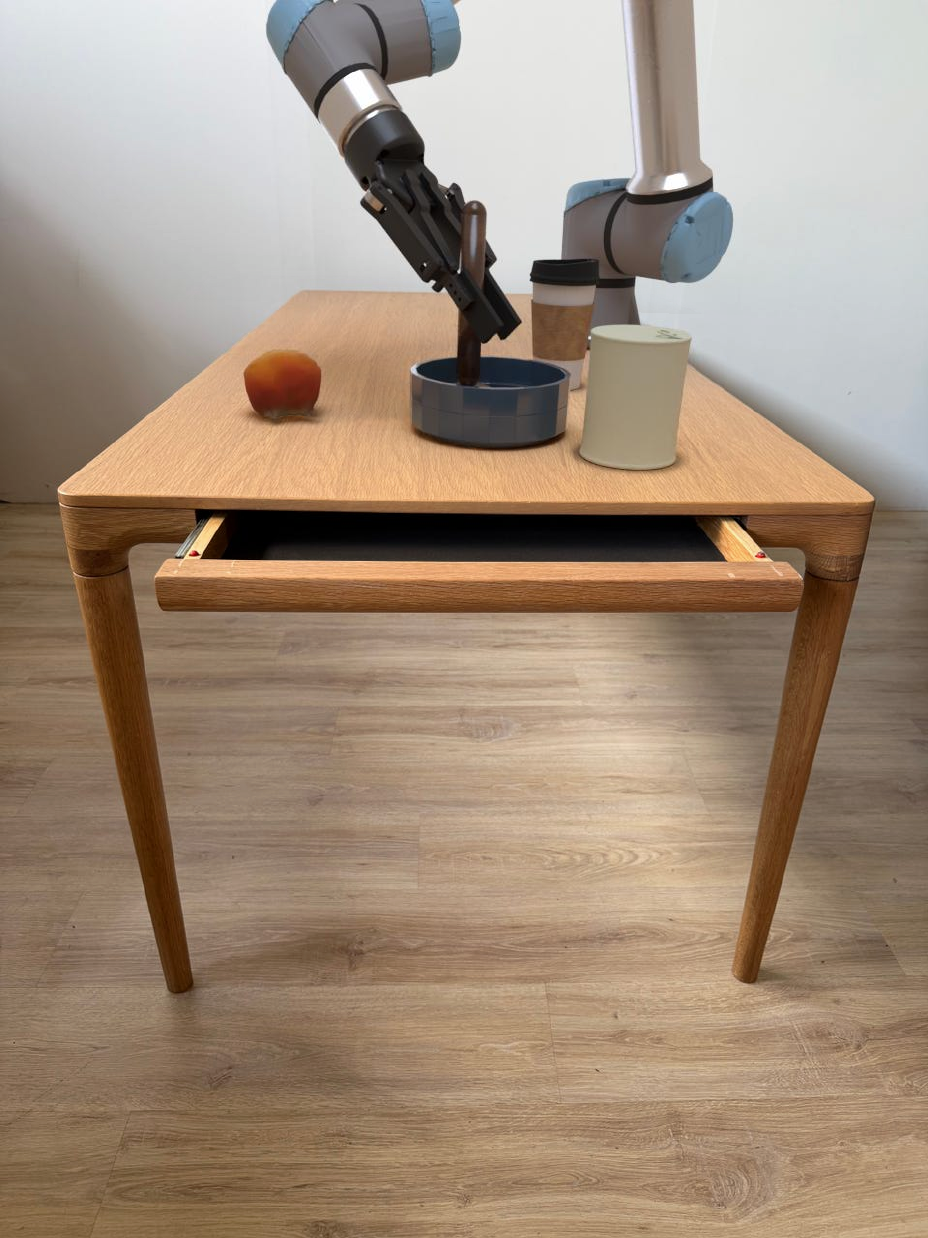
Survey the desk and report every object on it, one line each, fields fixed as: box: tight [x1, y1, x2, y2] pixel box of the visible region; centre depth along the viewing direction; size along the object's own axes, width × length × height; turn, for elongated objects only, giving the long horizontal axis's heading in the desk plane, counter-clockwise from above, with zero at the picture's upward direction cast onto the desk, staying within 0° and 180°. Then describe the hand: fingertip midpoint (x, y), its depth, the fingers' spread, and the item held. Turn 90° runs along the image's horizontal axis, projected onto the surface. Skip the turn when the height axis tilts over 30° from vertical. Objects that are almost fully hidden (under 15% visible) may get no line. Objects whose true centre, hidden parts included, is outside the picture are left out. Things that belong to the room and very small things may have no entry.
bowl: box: [409, 355, 571, 449], centre depth 95 cm, size 16×16×6 cm
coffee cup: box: [529, 258, 600, 391], centre depth 113 cm, size 8×8×15 cm
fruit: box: [243, 348, 322, 422], centre depth 97 cm, size 8×8×8 cm
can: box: [578, 324, 693, 471], centre depth 86 cm, size 9×9×12 cm
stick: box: [451, 199, 492, 388], centre depth 90 cm, size 5×5×19 cm
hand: (502, 332), depth 89 cm, fingers closed on stick, 2 cm apart
